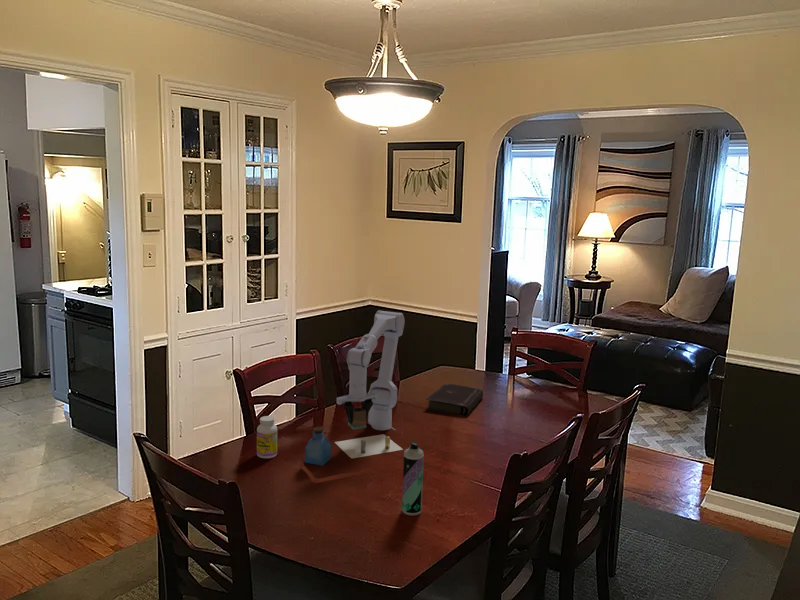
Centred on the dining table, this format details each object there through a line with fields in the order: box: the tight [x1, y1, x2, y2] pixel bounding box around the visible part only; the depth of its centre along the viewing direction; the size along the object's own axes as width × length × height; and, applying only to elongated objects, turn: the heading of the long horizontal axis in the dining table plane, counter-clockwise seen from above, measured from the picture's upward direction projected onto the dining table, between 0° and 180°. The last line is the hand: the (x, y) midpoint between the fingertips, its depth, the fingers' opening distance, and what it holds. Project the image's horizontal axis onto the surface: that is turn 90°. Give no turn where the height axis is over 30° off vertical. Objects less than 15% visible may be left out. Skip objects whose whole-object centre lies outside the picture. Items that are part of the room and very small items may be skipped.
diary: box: [425, 383, 484, 417], centre depth 282 cm, size 19×25×5 cm
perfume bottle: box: [304, 426, 332, 466], centre depth 218 cm, size 6×6×12 cm
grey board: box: [334, 433, 404, 459], centre depth 232 cm, size 15×19×1 cm
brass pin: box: [385, 435, 391, 449], centre depth 230 cm, size 2×2×4 cm
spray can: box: [401, 442, 425, 516], centre depth 188 cm, size 6×6×20 cm
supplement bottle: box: [256, 415, 278, 459], centre depth 223 cm, size 7×7×13 cm
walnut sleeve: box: [347, 406, 367, 431], centre depth 230 cm, size 5×5×6 cm
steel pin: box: [361, 440, 366, 453], centre depth 226 cm, size 2×2×4 cm
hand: (357, 421), depth 231 cm, fingers closed on walnut sleeve, 4 cm apart
